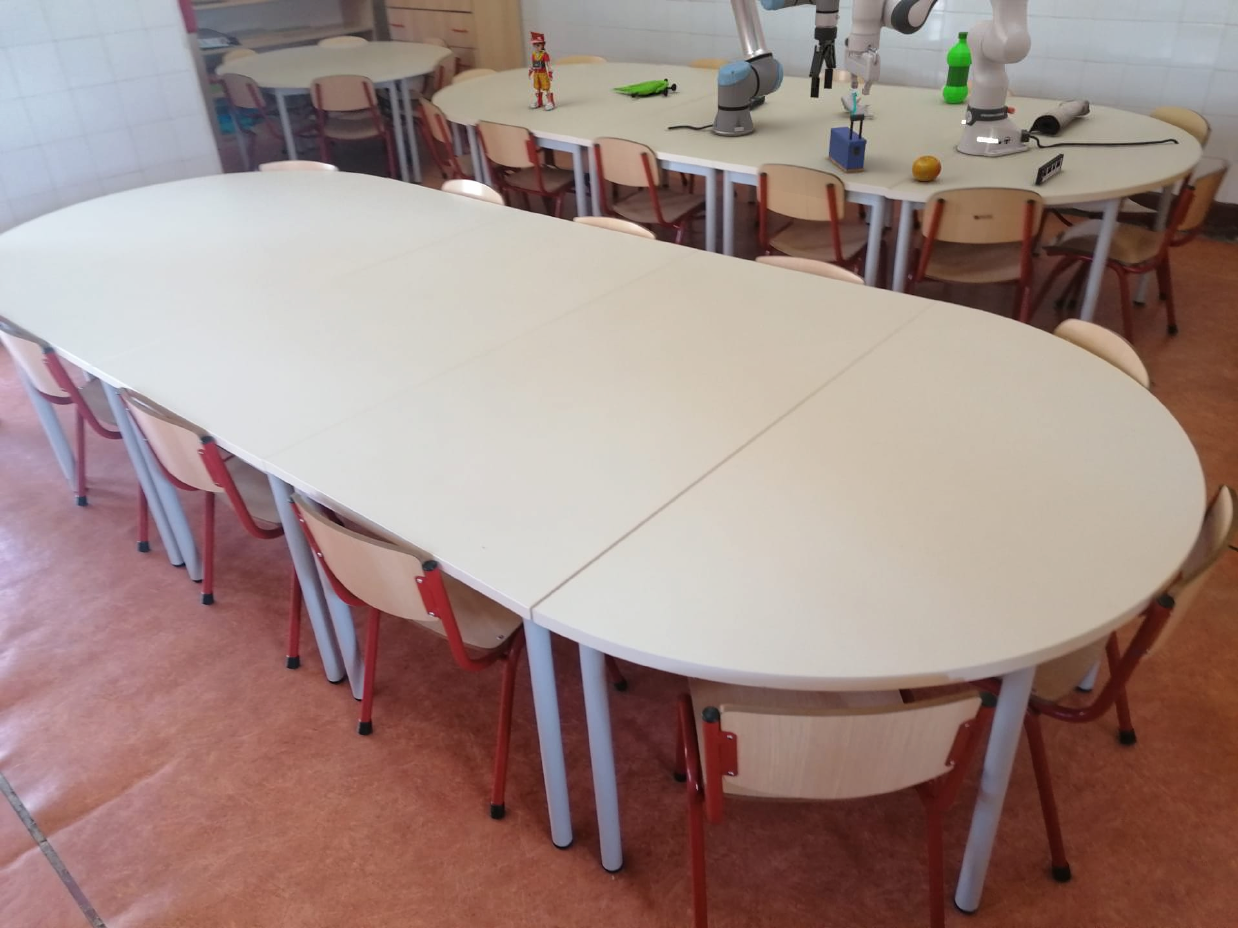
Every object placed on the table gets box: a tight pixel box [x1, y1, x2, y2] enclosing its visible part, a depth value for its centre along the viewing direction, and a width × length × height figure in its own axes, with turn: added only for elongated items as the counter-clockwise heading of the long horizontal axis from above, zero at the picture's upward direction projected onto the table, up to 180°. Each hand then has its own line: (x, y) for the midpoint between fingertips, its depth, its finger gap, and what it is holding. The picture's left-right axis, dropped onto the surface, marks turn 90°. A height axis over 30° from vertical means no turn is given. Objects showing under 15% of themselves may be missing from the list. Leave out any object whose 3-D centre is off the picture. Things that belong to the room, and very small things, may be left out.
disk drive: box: [749, 95, 766, 111], centre depth 366 cm, size 10×3×15 cm
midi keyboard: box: [1035, 153, 1065, 186], centre depth 273 cm, size 18×1×5 cm, turn 138°
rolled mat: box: [1028, 99, 1091, 137], centre depth 319 cm, size 30×9×10 cm
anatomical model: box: [840, 88, 875, 118], centre depth 344 cm, size 15×10×10 cm
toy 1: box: [527, 31, 556, 111], centre depth 374 cm, size 12×9×30 cm
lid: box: [830, 114, 868, 145], centre depth 289 cm, size 17×6×9 cm, turn 9°
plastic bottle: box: [942, 31, 972, 104], centre depth 348 cm, size 10×10×25 cm
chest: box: [828, 131, 867, 174], centre depth 294 cm, size 17×6×9 cm, turn 9°
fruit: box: [911, 155, 942, 182], centre depth 277 cm, size 8×8×8 cm
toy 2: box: [612, 78, 677, 99], centre depth 396 cm, size 28×5×30 cm
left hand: (821, 93), depth 313 cm, fingers open, 13 cm apart
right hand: (859, 91), depth 278 cm, fingers open, 8 cm apart
